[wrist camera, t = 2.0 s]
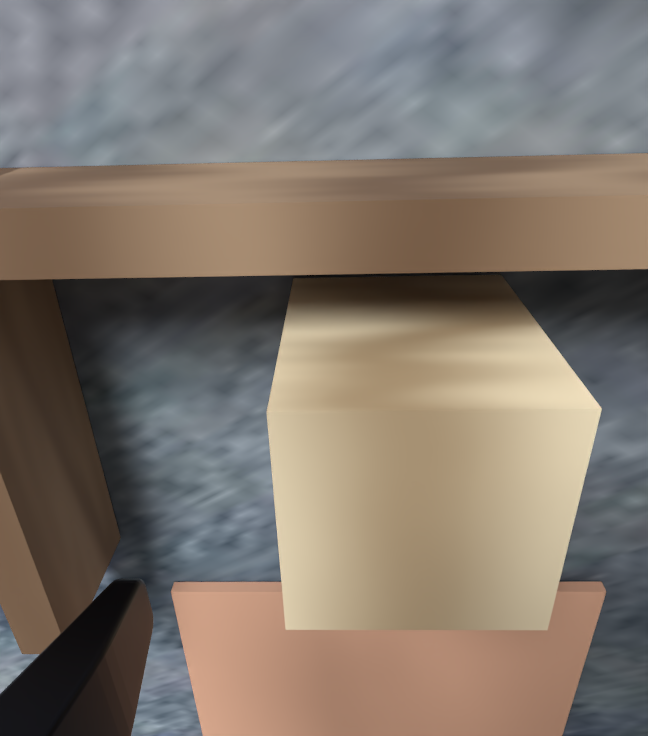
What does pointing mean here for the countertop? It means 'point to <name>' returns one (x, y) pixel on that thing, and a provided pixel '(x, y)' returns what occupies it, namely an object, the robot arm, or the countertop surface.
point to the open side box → (241, 258)
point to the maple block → (423, 455)
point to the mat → (377, 669)
